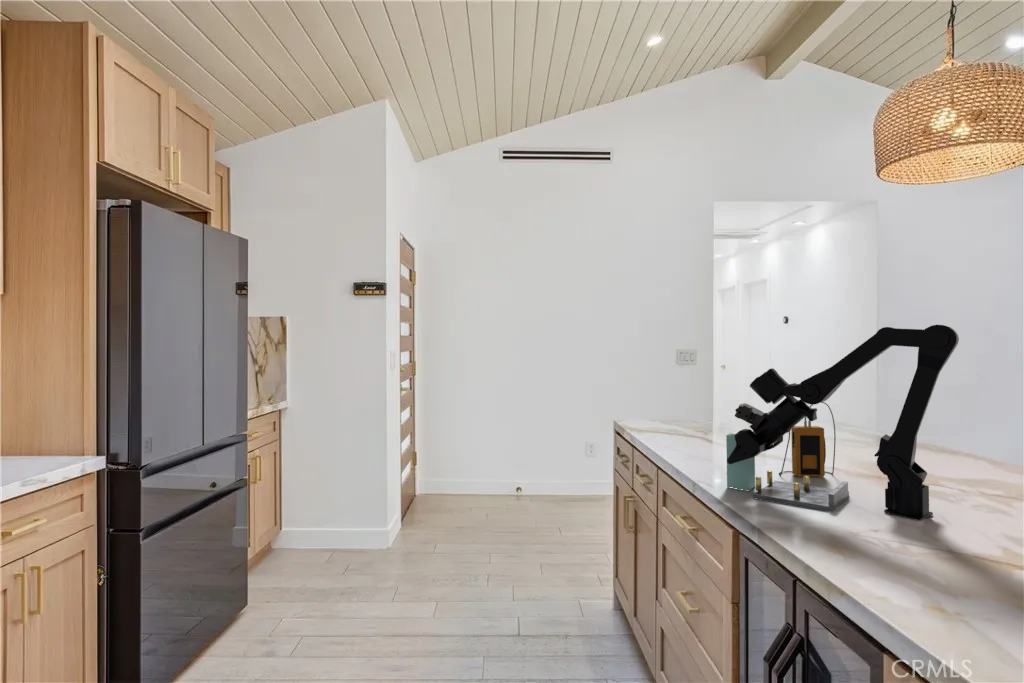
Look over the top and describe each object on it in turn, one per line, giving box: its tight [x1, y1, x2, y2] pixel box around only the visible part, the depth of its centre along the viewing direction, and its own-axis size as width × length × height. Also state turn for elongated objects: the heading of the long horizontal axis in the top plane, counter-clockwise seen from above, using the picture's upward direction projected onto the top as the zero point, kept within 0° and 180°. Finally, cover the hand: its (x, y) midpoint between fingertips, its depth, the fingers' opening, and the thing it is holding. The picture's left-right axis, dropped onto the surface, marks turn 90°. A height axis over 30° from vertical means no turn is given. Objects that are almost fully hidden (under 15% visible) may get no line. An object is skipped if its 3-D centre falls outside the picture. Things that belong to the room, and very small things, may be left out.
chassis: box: [753, 470, 850, 513], centre depth 127 cm, size 17×16×4 cm
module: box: [725, 430, 756, 491], centre depth 135 cm, size 5×5×13 cm
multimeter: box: [778, 401, 836, 478], centre depth 150 cm, size 15×10×20 cm
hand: (735, 459), depth 136 cm, fingers open, 9 cm apart
